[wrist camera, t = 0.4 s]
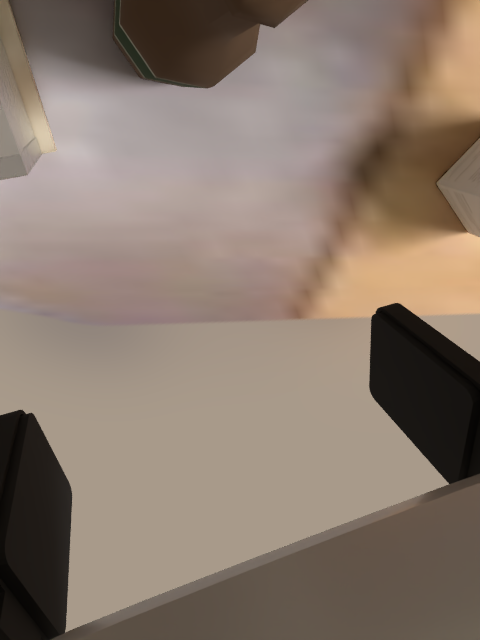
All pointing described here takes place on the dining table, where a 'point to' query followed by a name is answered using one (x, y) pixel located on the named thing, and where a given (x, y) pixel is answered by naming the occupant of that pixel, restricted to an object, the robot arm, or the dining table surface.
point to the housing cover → (14, 127)
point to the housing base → (24, 78)
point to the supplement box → (464, 188)
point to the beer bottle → (193, 36)
